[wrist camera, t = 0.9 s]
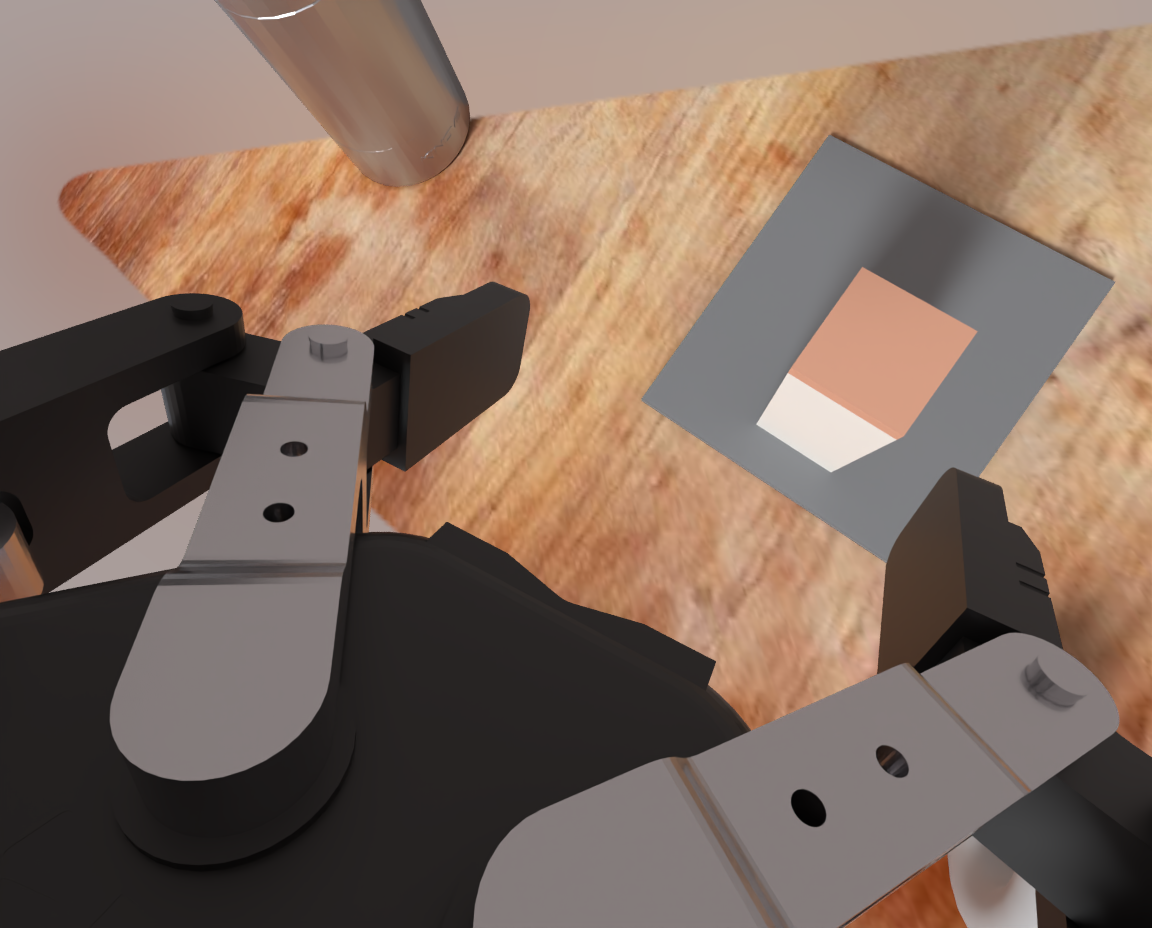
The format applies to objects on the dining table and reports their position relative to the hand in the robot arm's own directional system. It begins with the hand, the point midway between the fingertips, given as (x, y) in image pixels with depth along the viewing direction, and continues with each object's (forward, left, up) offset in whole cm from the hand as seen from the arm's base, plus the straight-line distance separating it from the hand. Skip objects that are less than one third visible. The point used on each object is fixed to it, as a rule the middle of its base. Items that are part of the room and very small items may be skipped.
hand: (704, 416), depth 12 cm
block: (+3, +9, -26) cm, 28 cm away
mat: (+3, +14, -26) cm, 30 cm away
